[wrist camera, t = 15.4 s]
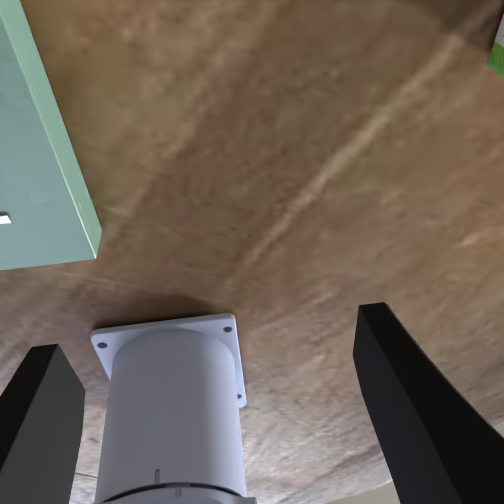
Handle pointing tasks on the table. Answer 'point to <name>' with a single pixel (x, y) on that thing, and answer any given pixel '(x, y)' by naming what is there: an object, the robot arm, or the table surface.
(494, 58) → the syrup box
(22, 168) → the hotplate
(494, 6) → the table surface
